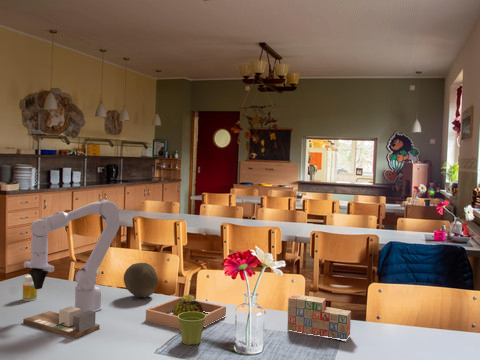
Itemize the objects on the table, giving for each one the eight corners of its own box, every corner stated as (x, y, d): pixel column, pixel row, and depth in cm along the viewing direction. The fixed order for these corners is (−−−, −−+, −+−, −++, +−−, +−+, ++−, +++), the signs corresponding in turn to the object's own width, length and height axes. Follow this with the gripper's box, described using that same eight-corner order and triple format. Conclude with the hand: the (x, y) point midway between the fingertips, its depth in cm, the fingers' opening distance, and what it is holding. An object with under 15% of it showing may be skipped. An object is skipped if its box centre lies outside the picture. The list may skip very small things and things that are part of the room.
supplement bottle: (31, 301, 192) (31, 278, 191) (19, 300, 193) (20, 277, 193) (39, 298, 197) (40, 275, 197) (28, 297, 198) (28, 274, 198)
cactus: (158, 326, 169) (159, 299, 169) (171, 312, 185) (172, 288, 184) (205, 330, 166) (206, 303, 166) (214, 316, 182) (215, 291, 182)
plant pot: (193, 349, 148) (194, 322, 148) (170, 342, 153) (171, 316, 153) (211, 340, 156) (211, 315, 156) (188, 334, 161) (189, 309, 161)
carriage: (70, 319, 166) (70, 306, 166) (80, 322, 164) (80, 308, 164) (51, 326, 159) (51, 312, 159) (61, 329, 157) (61, 314, 157)
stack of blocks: (350, 337, 165) (351, 302, 164) (346, 342, 159) (347, 306, 159) (292, 326, 174) (293, 293, 173) (286, 331, 168) (288, 297, 168)
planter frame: (179, 306, 192) (180, 296, 192) (225, 316, 181) (226, 306, 181) (145, 320, 174) (145, 309, 174) (194, 332, 163) (194, 321, 163)
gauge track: (49, 315, 176) (49, 297, 176) (99, 329, 163) (99, 310, 163) (23, 323, 167) (23, 304, 166) (74, 338, 154) (74, 318, 154)
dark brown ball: (146, 291, 213) (146, 258, 213) (163, 298, 203) (164, 264, 202) (117, 296, 204) (118, 262, 203) (134, 304, 193) (135, 268, 193)
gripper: (17, 251, 173) (16, 287, 174) (43, 256, 166) (42, 294, 167) (33, 248, 180) (33, 283, 180) (59, 253, 172) (58, 290, 173)
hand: (38, 288), depth 174 cm, fingers closed
